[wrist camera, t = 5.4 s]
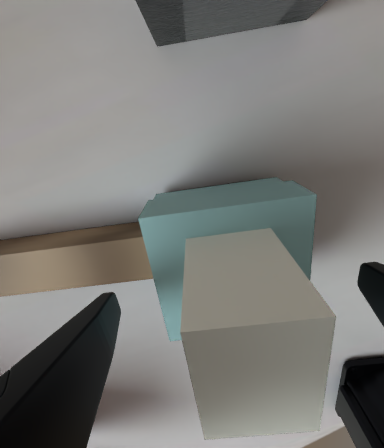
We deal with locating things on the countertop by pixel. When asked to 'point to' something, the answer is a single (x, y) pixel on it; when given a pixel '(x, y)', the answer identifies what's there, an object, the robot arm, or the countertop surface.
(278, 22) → the dark grey box
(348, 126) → the countertop surface
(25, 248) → the rail
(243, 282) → the carriage
